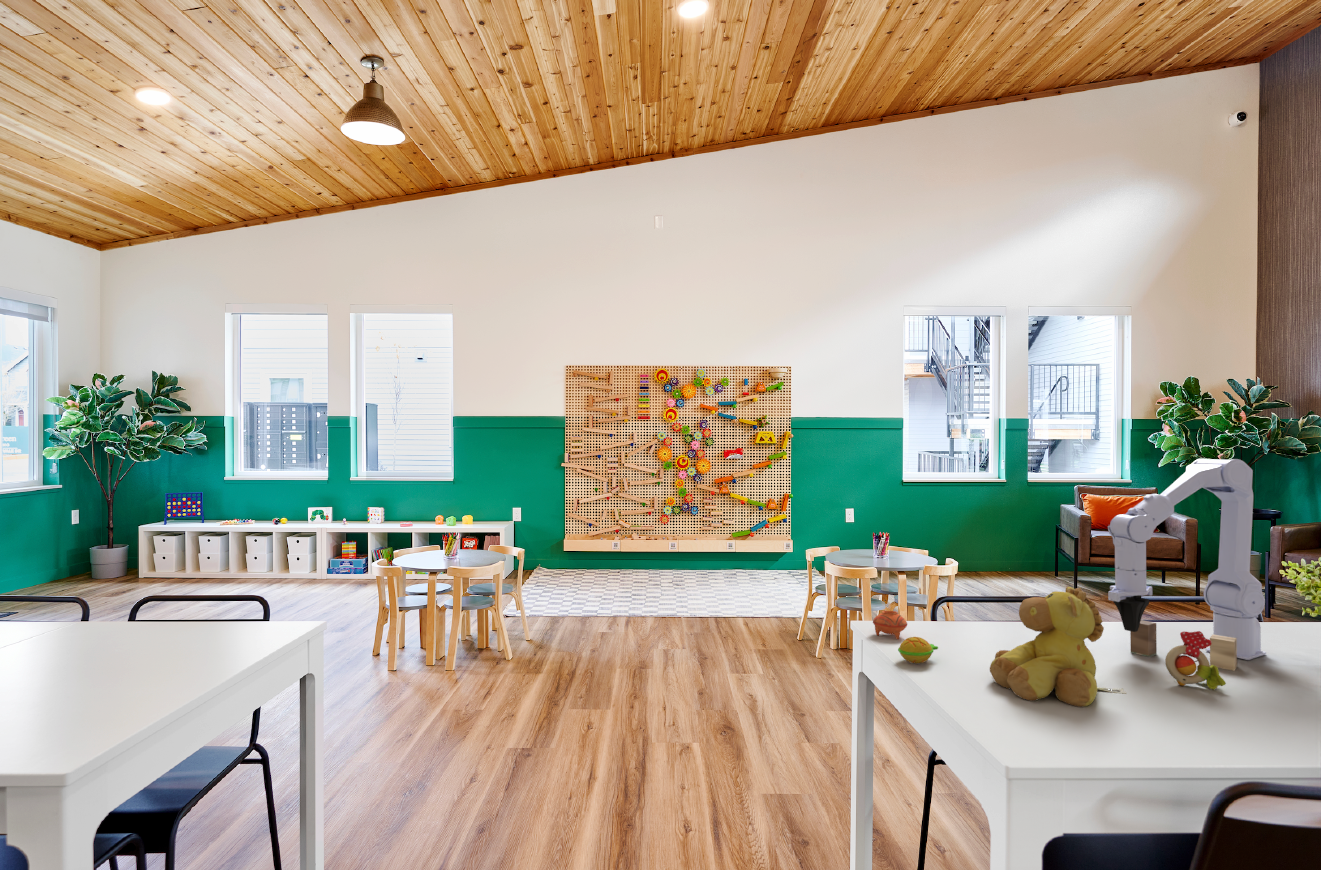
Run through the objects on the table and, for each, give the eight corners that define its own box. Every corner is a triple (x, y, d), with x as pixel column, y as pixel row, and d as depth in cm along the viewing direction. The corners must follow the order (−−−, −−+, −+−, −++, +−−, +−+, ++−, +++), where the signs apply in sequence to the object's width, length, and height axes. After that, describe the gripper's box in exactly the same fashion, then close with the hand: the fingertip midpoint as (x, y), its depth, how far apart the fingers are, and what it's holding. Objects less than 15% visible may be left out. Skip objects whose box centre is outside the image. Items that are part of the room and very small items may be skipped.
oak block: (1212, 662, 148) (1212, 634, 149) (1236, 666, 146) (1236, 637, 146) (1210, 666, 146) (1209, 637, 146) (1234, 670, 143) (1234, 641, 143)
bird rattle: (1192, 702, 130) (1240, 685, 129) (1165, 647, 131) (1213, 629, 130) (1172, 691, 136) (1218, 674, 135) (1147, 638, 137) (1192, 621, 136)
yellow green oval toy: (891, 662, 146) (891, 637, 147) (912, 653, 153) (912, 629, 154) (923, 670, 142) (923, 644, 142) (943, 660, 149) (943, 635, 149)
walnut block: (1138, 650, 157) (1138, 619, 157) (1156, 654, 154) (1156, 622, 154) (1130, 652, 155) (1130, 621, 155) (1148, 656, 152) (1148, 624, 152)
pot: (876, 639, 163) (874, 610, 165) (872, 638, 171) (870, 610, 173) (911, 639, 162) (909, 610, 164) (905, 639, 170) (903, 610, 171)
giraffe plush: (972, 671, 141) (972, 578, 142) (1086, 671, 142) (1085, 578, 142) (1025, 708, 121) (1025, 599, 121) (1159, 709, 121) (1158, 600, 122)
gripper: (1128, 563, 159) (1128, 622, 159) (1093, 568, 152) (1094, 630, 152) (1162, 568, 153) (1163, 629, 153) (1128, 573, 146) (1128, 638, 146)
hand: (1131, 630), depth 152 cm, fingers closed
